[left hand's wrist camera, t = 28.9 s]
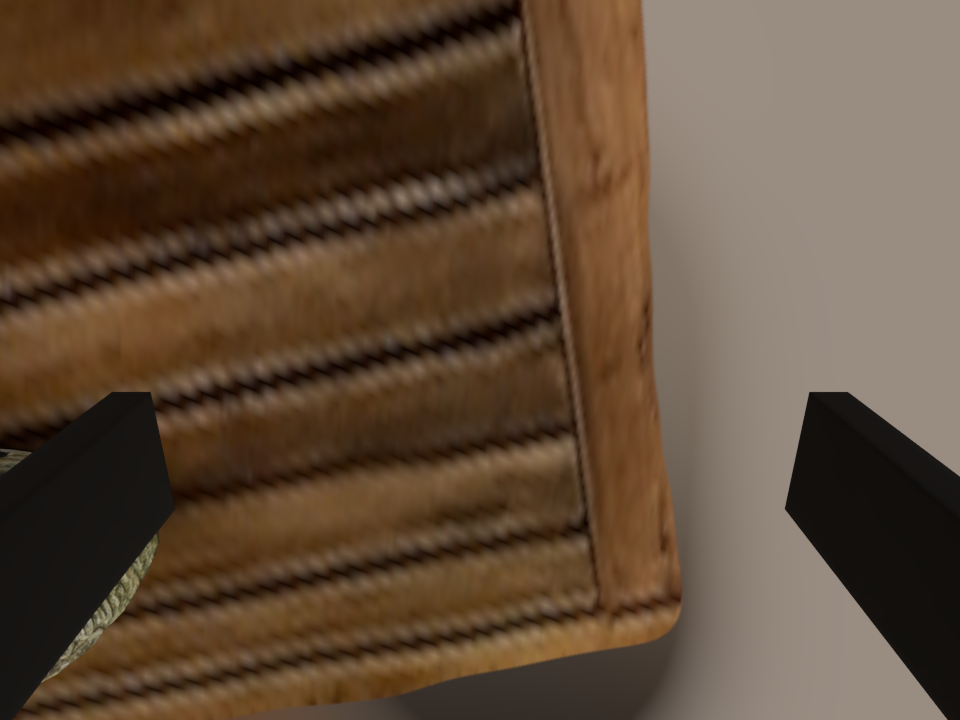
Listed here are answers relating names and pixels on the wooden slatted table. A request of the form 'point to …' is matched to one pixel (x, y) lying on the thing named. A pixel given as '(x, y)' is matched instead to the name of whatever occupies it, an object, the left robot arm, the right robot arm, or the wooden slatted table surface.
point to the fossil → (116, 599)
